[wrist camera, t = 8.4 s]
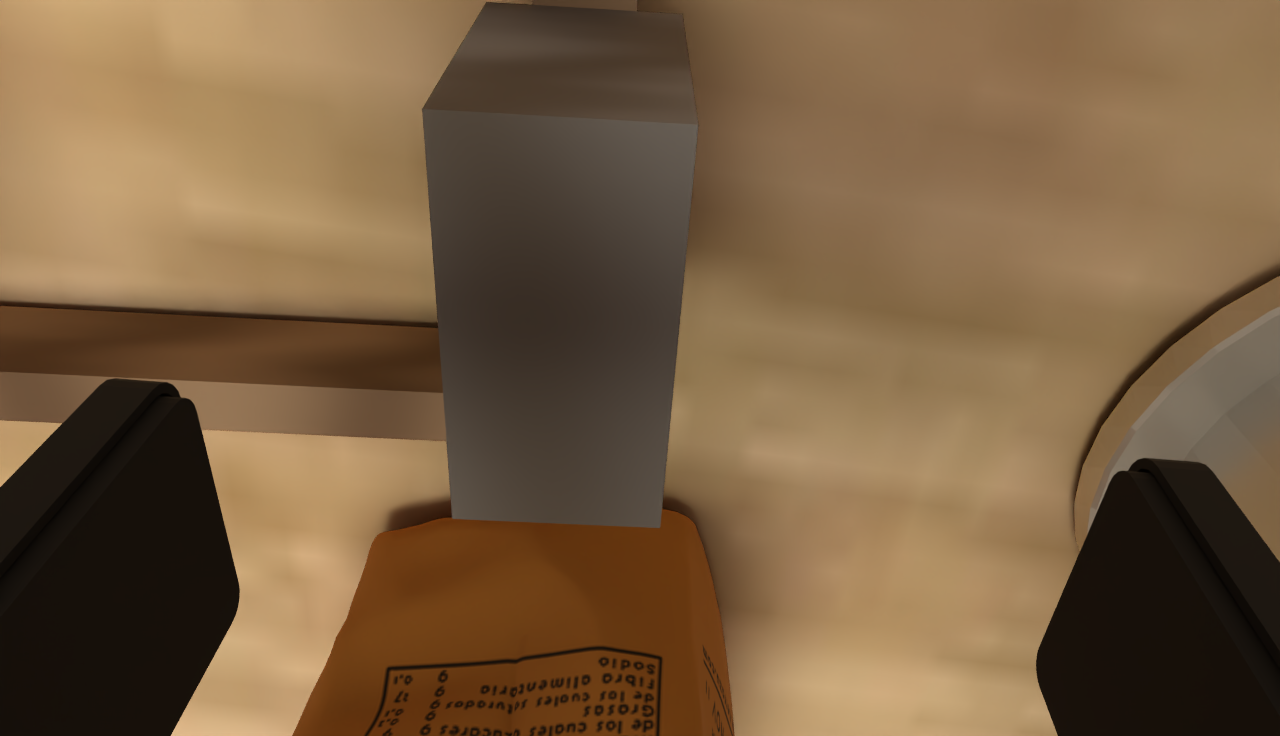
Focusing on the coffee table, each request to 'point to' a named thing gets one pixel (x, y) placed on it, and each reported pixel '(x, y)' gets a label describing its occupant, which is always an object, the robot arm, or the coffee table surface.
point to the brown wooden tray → (473, 287)
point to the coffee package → (529, 635)
